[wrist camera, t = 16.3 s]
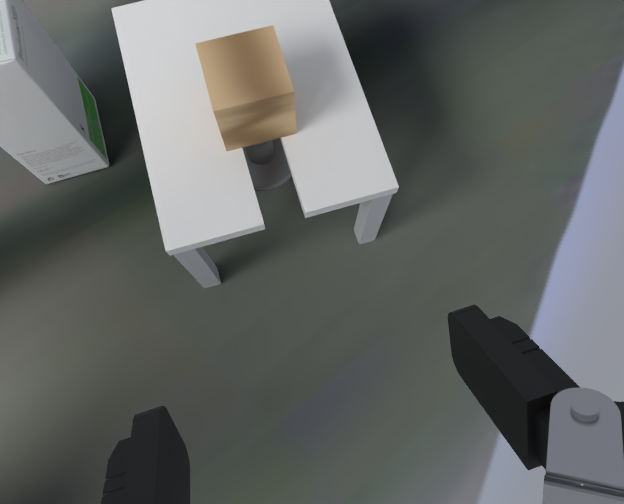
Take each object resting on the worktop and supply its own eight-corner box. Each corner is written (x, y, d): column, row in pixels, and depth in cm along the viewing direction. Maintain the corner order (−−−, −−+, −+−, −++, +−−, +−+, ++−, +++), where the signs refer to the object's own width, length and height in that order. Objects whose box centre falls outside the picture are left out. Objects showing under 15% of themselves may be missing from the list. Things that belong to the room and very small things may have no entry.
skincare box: (111, 169, 48) (20, 62, 33) (41, 188, 47) (-84, 88, 32) (95, 95, 50) (3, -37, 35) (28, 112, 49) (-94, -14, 34)
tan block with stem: (235, 199, 41) (206, 120, 30) (219, 136, 43) (185, 38, 32) (306, 180, 42) (304, 96, 30) (287, 118, 44) (278, 17, 32)
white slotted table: (203, 290, 44) (165, 251, 33) (157, 99, 50) (111, 8, 38) (376, 241, 46) (399, 186, 34) (313, 60, 51) (314, -40, 40)
